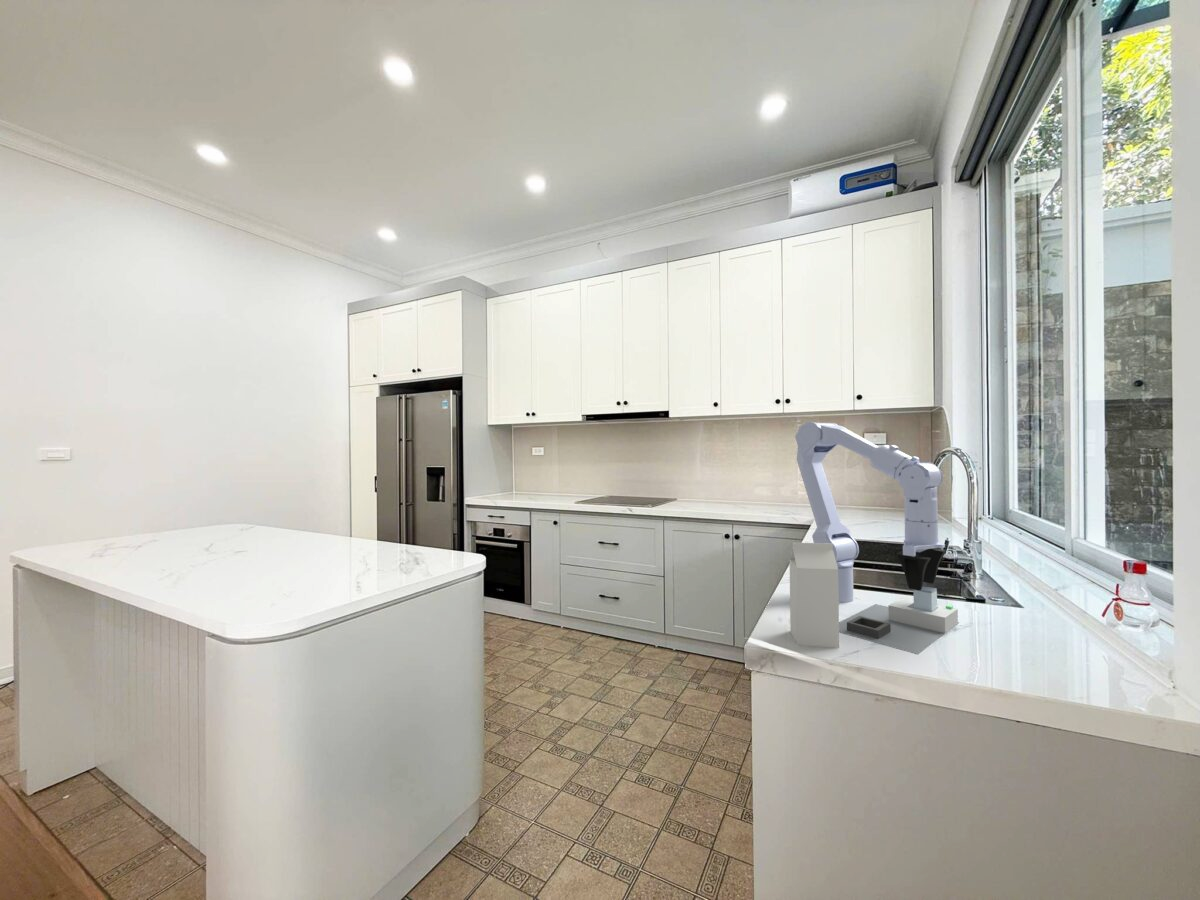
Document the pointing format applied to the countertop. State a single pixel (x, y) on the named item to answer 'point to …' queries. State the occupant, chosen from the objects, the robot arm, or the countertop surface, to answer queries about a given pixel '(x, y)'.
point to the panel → (901, 625)
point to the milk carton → (814, 595)
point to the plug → (925, 599)
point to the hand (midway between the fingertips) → (921, 585)
